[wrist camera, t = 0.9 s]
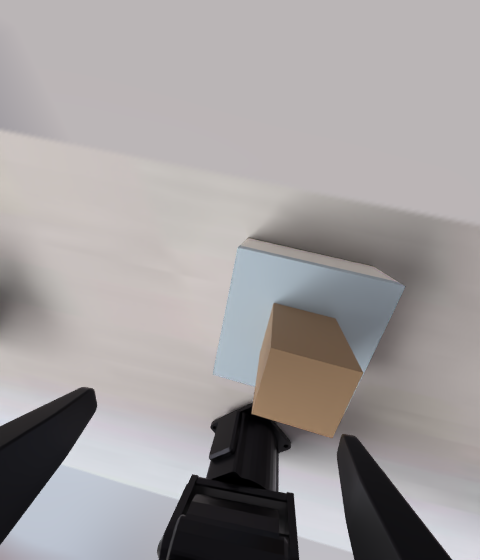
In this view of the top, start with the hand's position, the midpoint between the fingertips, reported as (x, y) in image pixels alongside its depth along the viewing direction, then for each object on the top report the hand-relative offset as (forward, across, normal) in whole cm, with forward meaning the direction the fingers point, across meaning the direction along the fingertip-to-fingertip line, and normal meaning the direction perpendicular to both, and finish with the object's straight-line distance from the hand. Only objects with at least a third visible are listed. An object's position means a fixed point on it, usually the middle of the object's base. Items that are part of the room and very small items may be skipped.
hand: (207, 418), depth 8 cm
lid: (+9, -4, +1) cm, 9 cm away
